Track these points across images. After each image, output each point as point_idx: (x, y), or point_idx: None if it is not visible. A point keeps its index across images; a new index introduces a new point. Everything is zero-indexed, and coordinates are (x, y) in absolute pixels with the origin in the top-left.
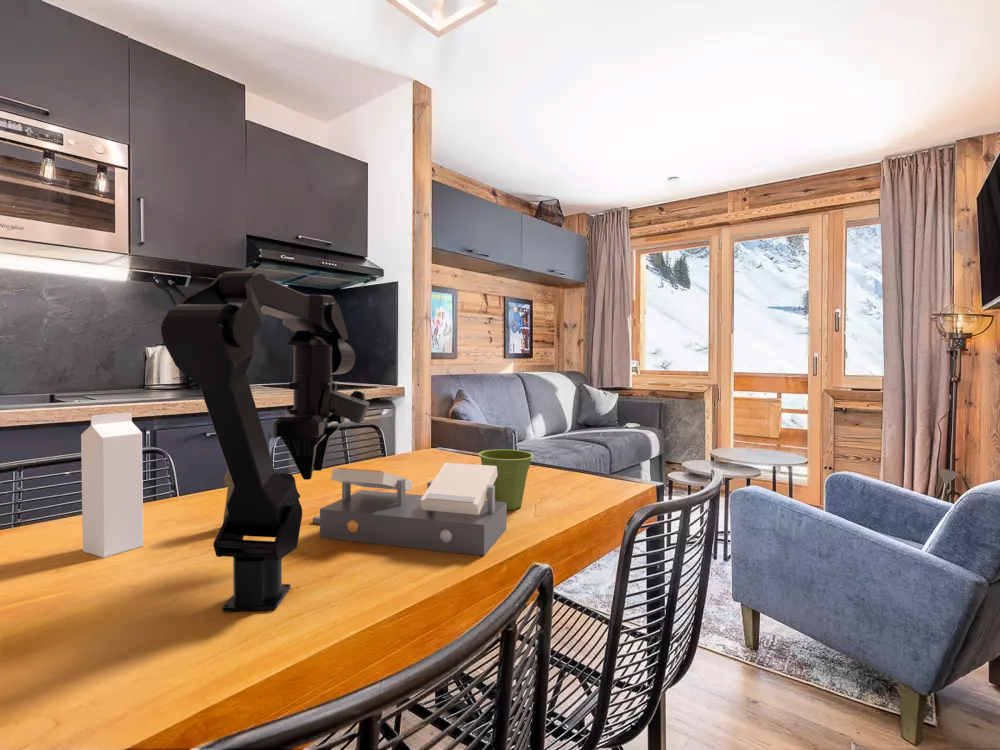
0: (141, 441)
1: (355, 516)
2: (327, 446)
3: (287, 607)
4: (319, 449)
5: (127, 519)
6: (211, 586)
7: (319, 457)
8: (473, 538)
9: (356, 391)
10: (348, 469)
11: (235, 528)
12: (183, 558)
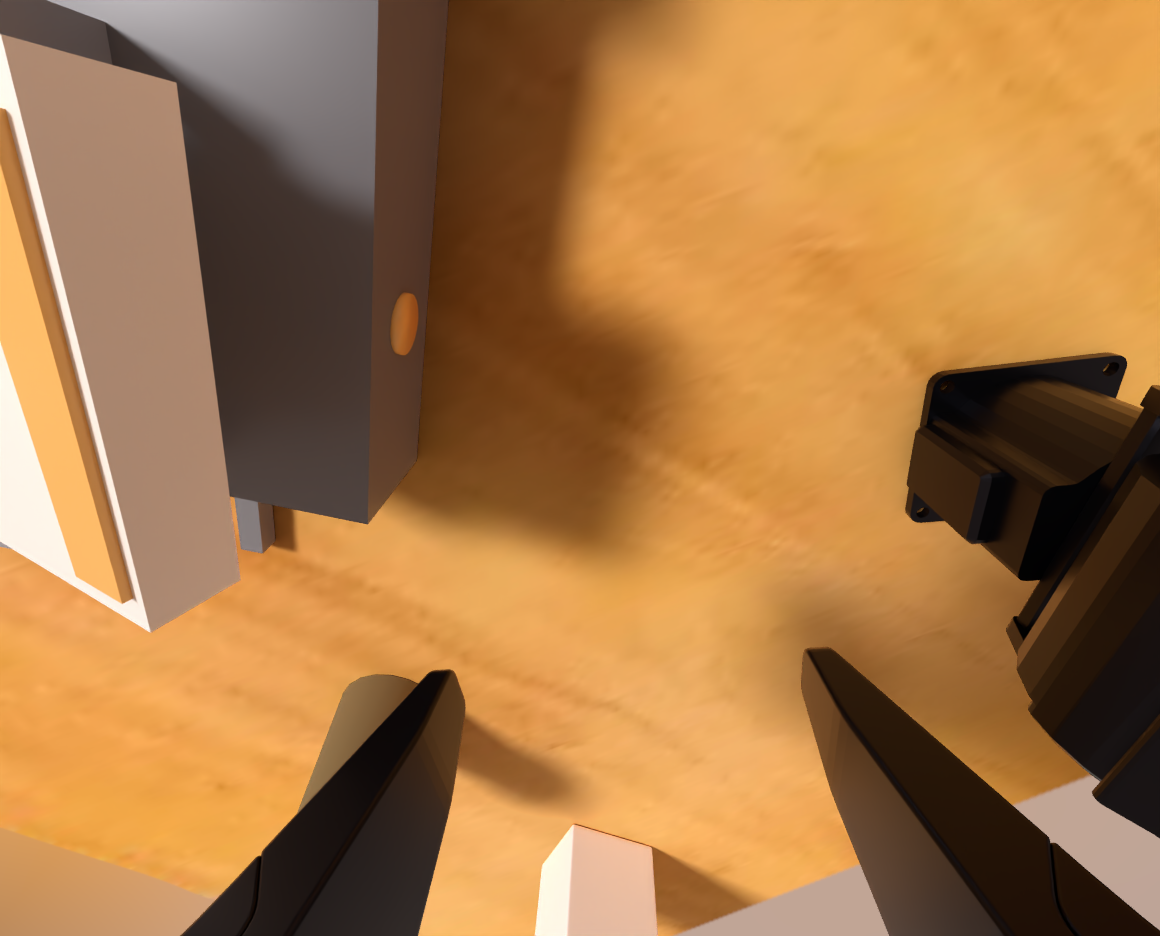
0: None
1: (382, 319)
2: (237, 900)
3: (1095, 320)
4: (362, 910)
5: (605, 927)
6: (857, 598)
7: (409, 799)
8: None
9: None
10: (107, 514)
11: None
12: (648, 729)
